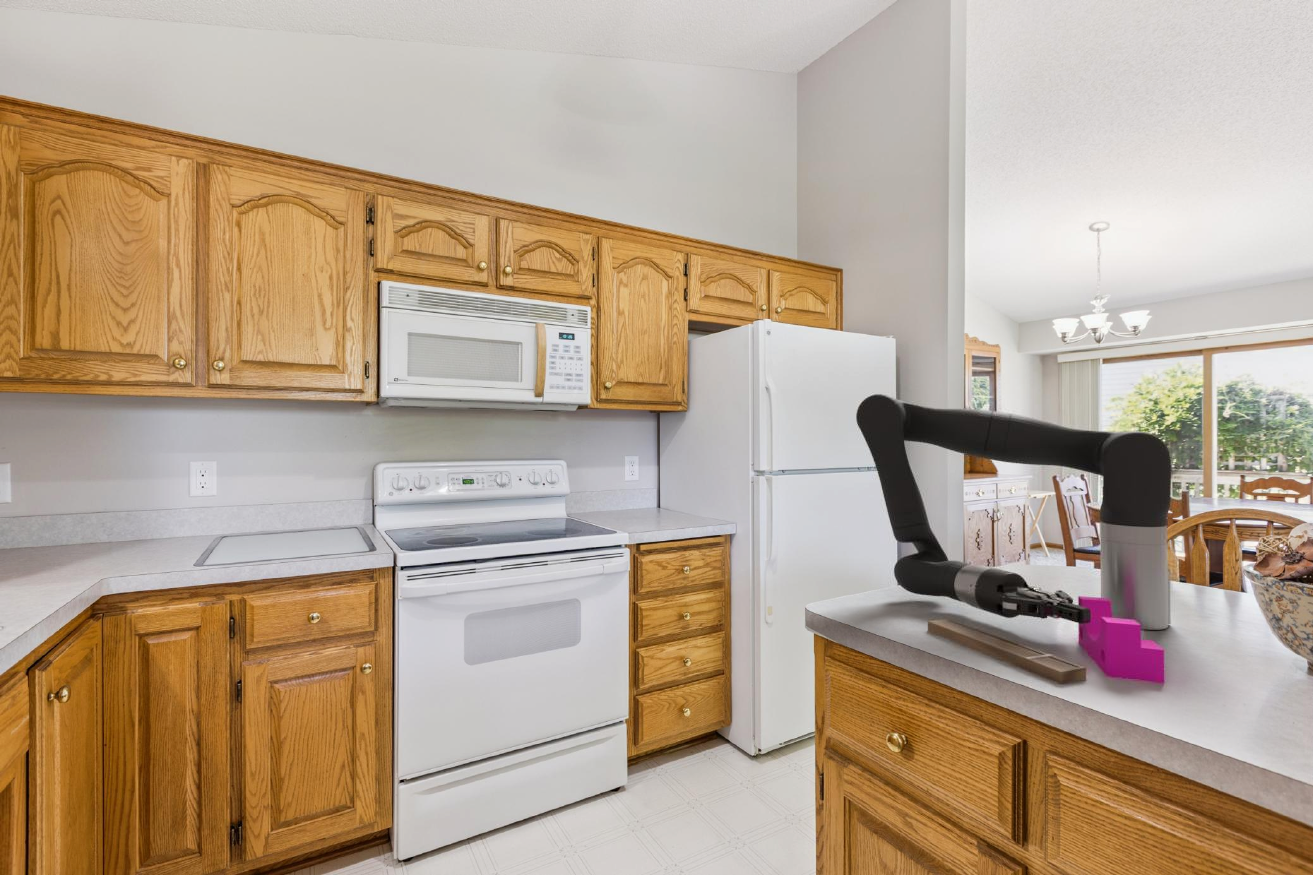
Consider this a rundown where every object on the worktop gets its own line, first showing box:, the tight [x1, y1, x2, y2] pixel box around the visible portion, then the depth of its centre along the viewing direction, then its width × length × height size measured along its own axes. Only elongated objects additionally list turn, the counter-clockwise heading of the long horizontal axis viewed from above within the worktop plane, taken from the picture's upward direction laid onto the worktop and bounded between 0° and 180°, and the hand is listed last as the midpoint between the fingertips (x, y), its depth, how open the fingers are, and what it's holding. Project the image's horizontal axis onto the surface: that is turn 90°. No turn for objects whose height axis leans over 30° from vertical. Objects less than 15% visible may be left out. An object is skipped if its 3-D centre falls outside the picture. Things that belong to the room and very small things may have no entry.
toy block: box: [1077, 595, 1165, 684], centre depth 90 cm, size 15×6×8 cm, turn 158°
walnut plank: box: [927, 618, 1087, 685], centre depth 94 cm, size 4×24×2 cm, turn 18°
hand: (1087, 616), depth 91 cm, fingers closed
